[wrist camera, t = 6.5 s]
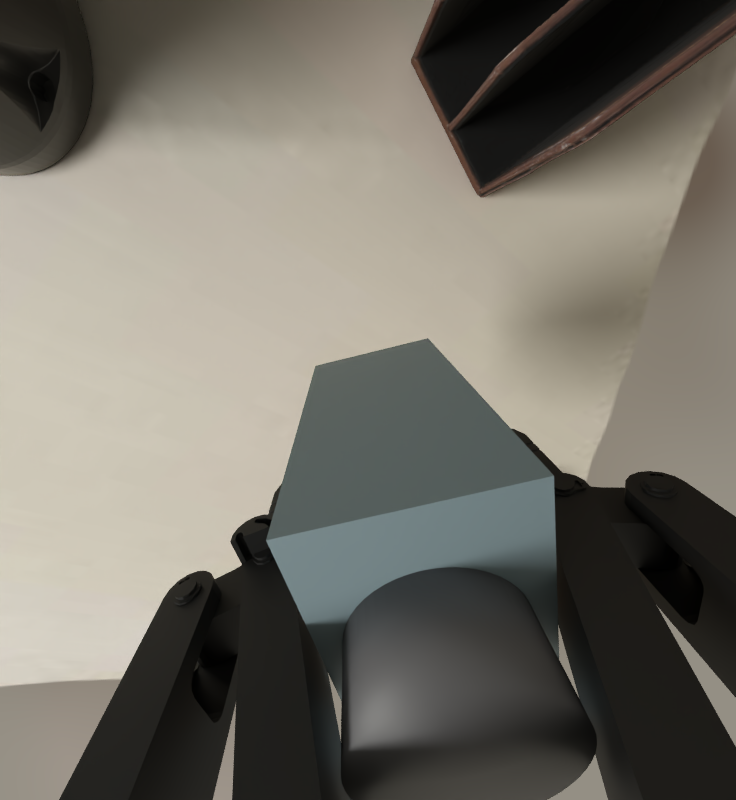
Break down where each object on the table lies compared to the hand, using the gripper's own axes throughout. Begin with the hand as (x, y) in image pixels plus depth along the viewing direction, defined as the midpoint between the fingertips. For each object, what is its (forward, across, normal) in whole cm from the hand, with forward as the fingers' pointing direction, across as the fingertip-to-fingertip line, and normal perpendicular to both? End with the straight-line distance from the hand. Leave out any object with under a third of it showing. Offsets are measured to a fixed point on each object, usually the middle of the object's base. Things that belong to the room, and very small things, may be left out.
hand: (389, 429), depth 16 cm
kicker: (+1, 0, 0) cm, 1 cm away
